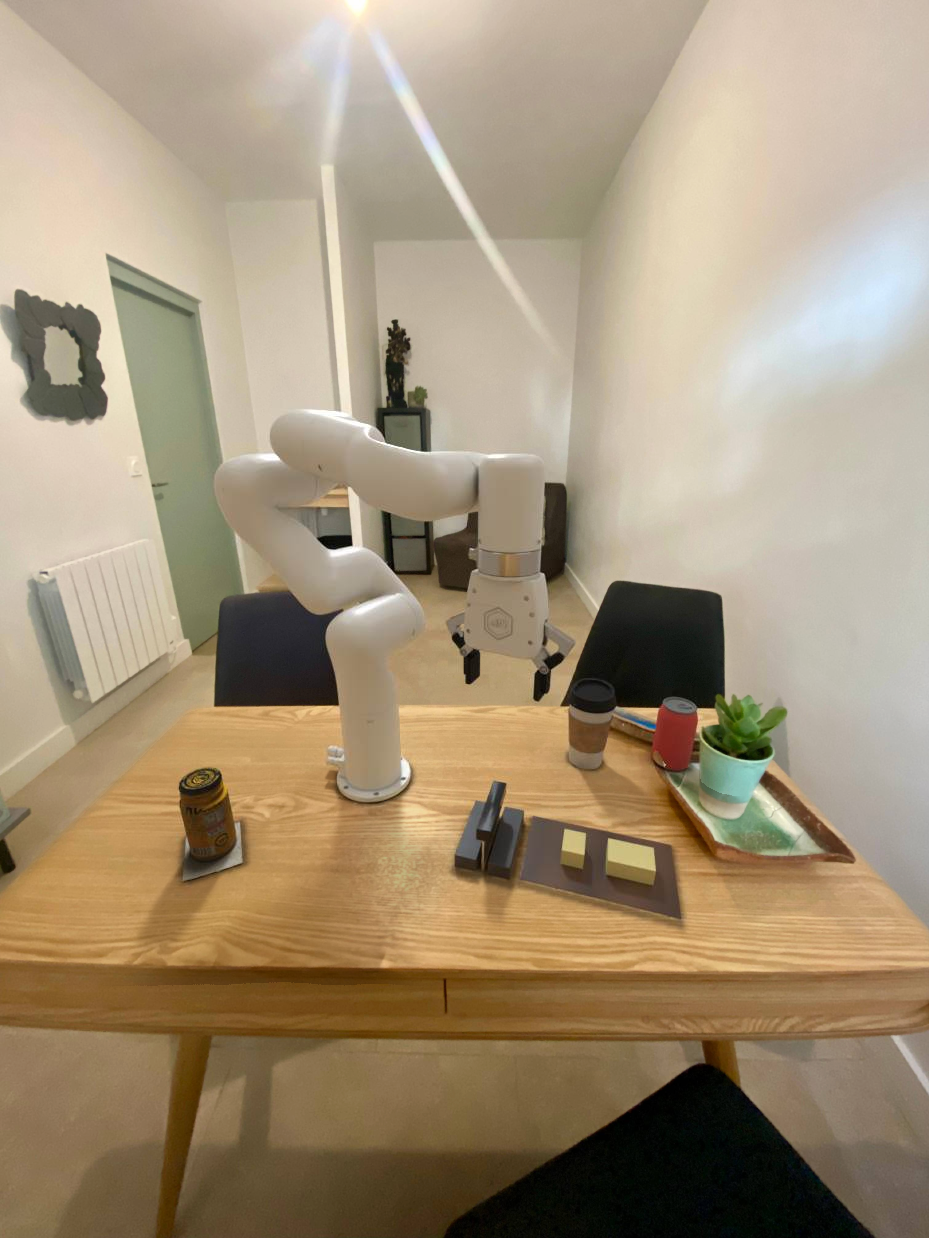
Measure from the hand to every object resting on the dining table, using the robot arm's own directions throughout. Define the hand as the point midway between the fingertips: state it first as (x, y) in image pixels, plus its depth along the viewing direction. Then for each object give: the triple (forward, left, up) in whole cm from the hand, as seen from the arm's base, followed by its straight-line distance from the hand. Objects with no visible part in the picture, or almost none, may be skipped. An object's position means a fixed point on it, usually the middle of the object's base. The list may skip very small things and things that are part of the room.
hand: (505, 688), depth 64 cm
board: (+14, -2, -25) cm, 29 cm away
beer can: (+26, +26, -25) cm, 45 cm away
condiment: (-39, -15, -25) cm, 48 cm away
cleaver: (-1, -3, -25) cm, 25 cm away
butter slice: (+11, -2, -24) cm, 26 cm away
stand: (-1, -3, -25) cm, 25 cm away
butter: (+18, -2, -24) cm, 30 cm away
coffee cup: (+11, +22, -25) cm, 35 cm away
